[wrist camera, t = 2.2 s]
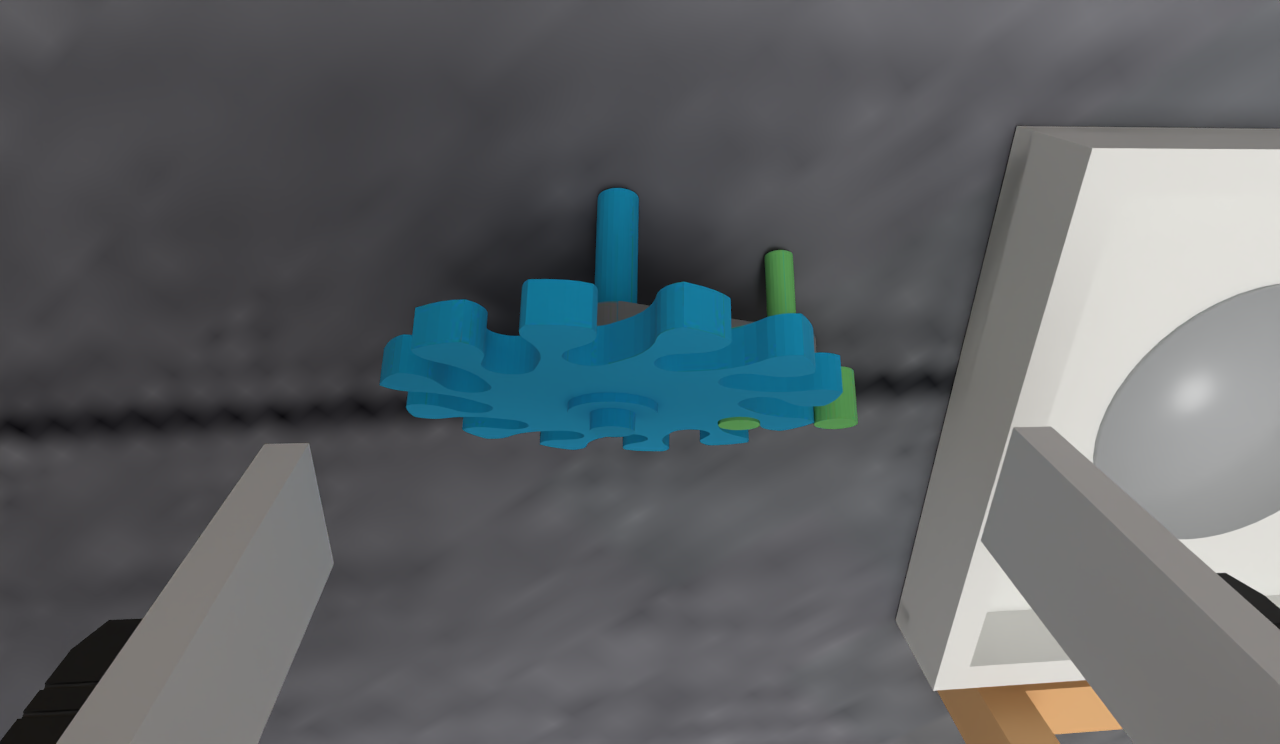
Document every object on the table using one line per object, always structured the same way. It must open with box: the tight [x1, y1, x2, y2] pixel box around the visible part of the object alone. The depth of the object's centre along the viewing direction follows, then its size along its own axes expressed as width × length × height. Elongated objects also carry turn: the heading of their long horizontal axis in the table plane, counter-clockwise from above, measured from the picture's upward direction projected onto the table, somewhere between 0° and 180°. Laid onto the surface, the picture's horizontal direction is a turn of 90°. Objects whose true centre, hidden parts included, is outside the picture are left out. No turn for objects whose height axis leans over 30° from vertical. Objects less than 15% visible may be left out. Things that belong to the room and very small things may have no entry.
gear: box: [379, 188, 858, 451], centre depth 18 cm, size 11×6×10 cm
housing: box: [895, 126, 1280, 691], centre depth 23 cm, size 18×22×4 cm
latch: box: [937, 680, 1123, 744], centre depth 26 cm, size 9×2×5 cm, turn 88°
